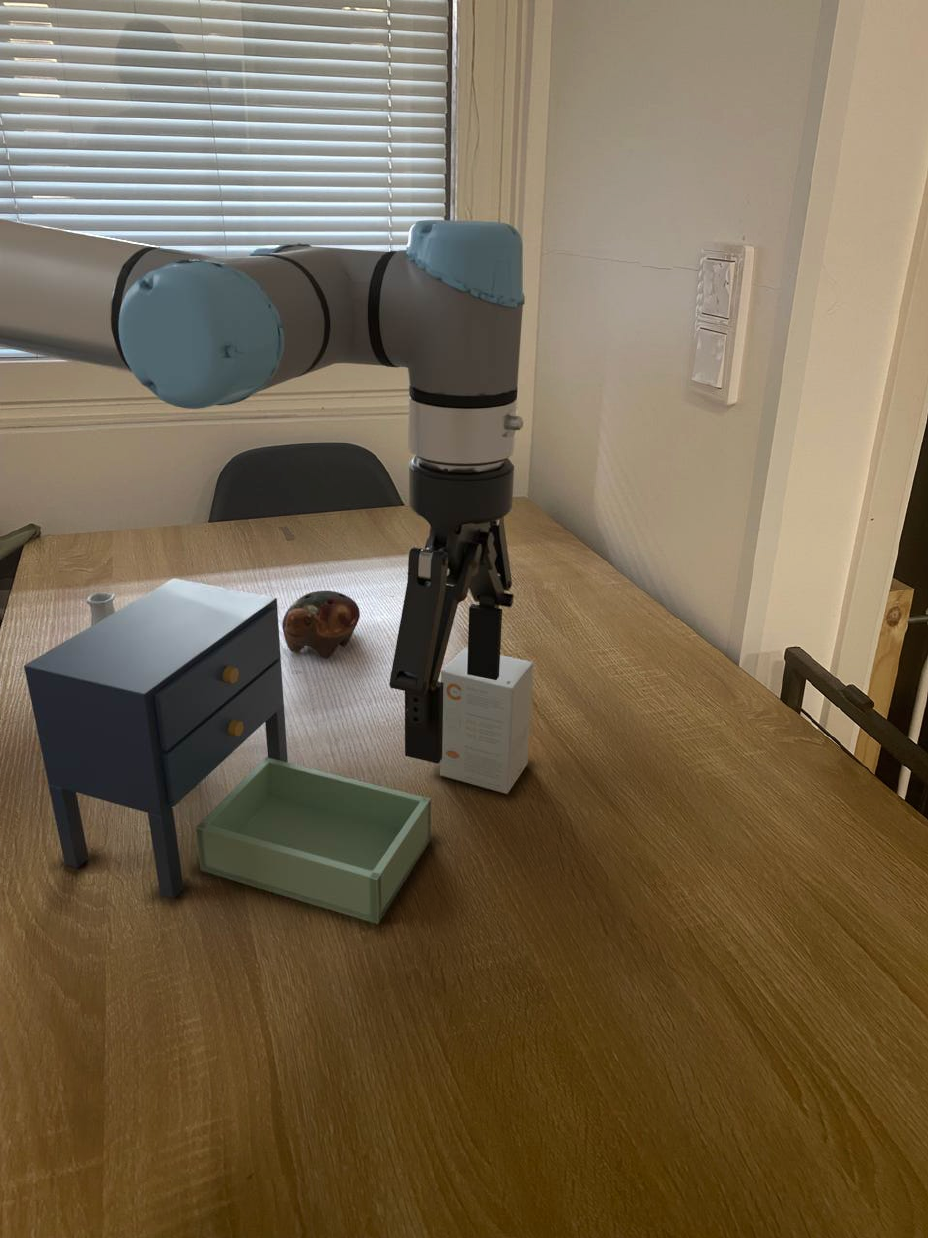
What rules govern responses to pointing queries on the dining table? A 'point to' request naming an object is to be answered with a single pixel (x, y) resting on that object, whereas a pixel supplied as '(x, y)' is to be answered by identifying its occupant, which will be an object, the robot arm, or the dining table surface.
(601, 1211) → the dining table surface
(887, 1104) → the dining table surface
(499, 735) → the small box
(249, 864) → the storage tub
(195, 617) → the drawer cabinet
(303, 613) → the brown ceramic figurine
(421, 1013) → the dining table surface
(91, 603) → the flask
